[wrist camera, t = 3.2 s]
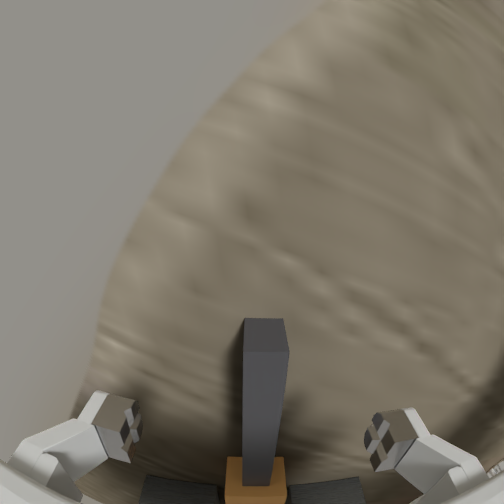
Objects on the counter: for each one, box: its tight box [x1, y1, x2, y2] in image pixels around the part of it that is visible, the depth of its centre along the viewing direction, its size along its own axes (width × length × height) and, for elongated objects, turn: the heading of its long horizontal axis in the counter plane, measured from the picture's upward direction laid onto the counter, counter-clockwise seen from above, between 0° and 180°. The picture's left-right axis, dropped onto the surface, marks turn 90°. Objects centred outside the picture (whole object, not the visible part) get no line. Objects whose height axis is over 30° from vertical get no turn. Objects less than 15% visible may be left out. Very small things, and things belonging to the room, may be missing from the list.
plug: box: [225, 318, 289, 504], centre depth 15 cm, size 18×4×4 cm, turn 179°
